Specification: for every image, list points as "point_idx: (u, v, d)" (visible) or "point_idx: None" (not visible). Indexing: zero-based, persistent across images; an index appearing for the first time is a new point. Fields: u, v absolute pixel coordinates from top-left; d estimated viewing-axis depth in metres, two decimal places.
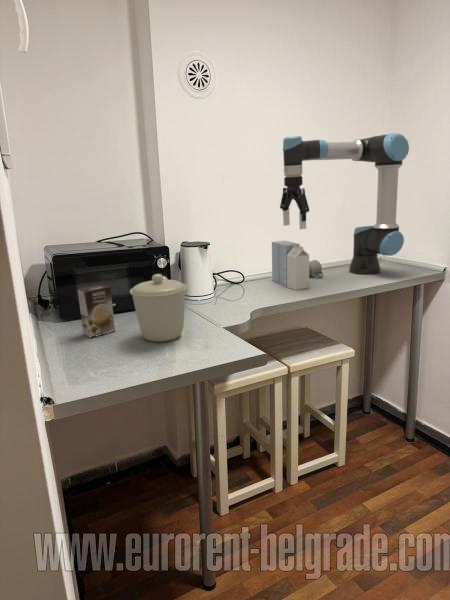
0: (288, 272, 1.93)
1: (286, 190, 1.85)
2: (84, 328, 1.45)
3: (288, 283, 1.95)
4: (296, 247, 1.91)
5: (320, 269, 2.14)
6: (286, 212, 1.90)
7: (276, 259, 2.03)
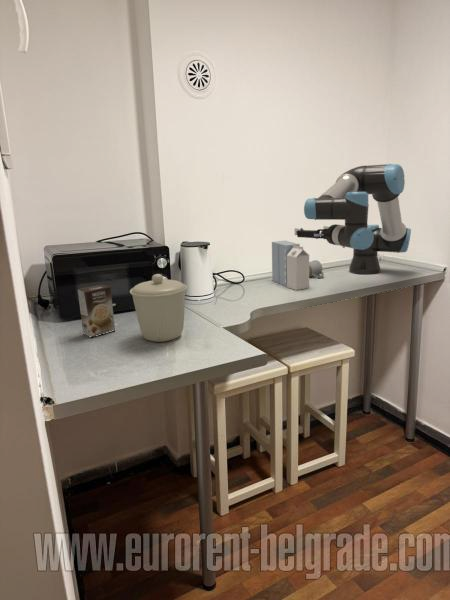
0: (288, 272, 1.93)
1: (318, 236, 1.63)
2: (84, 328, 1.45)
3: (288, 283, 1.95)
4: (296, 247, 1.91)
5: (321, 269, 2.14)
6: None
7: (276, 259, 2.03)
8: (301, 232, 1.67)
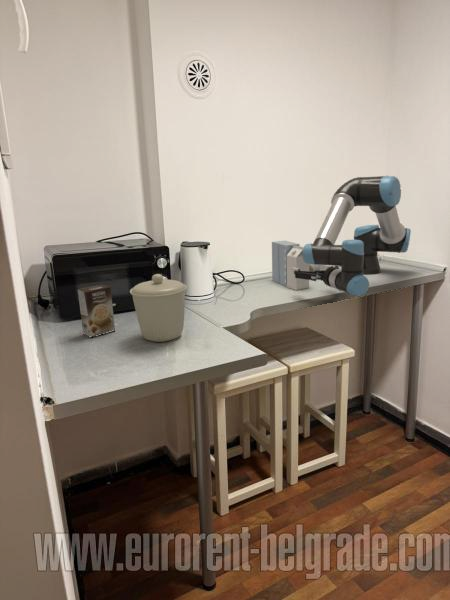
0: (288, 272, 1.93)
1: None
2: (84, 328, 1.45)
3: (288, 283, 1.95)
4: (296, 247, 1.91)
5: None
6: None
7: (276, 259, 2.03)
8: (299, 273, 1.73)
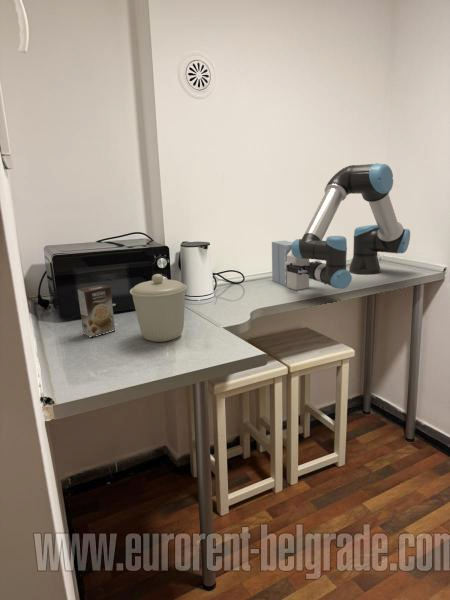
0: (288, 272, 1.93)
1: None
2: (84, 328, 1.45)
3: (288, 283, 1.95)
4: None
5: None
6: None
7: (276, 259, 2.03)
8: (289, 267, 1.84)
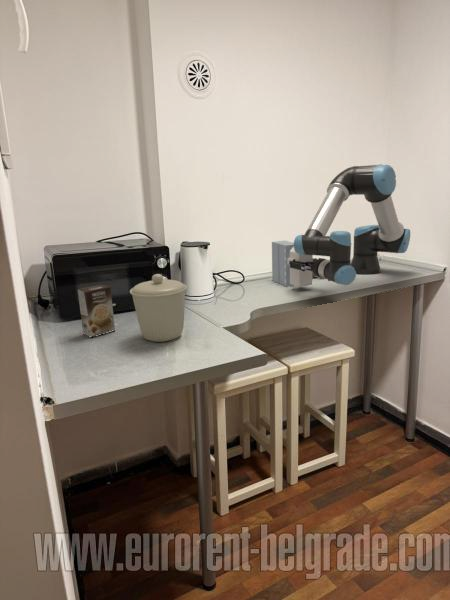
0: (291, 269, 1.90)
1: (305, 268, 1.76)
2: (84, 328, 1.45)
3: (291, 280, 1.91)
4: None
5: None
6: None
7: (276, 259, 2.03)
8: (292, 263, 1.81)
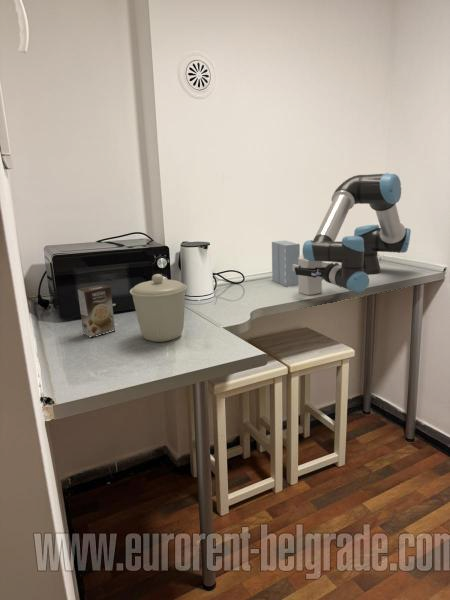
0: (300, 276, 1.84)
1: (316, 274, 1.70)
2: (84, 328, 1.45)
3: (300, 288, 1.86)
4: None
5: None
6: None
7: (276, 259, 2.03)
8: (299, 270, 1.73)
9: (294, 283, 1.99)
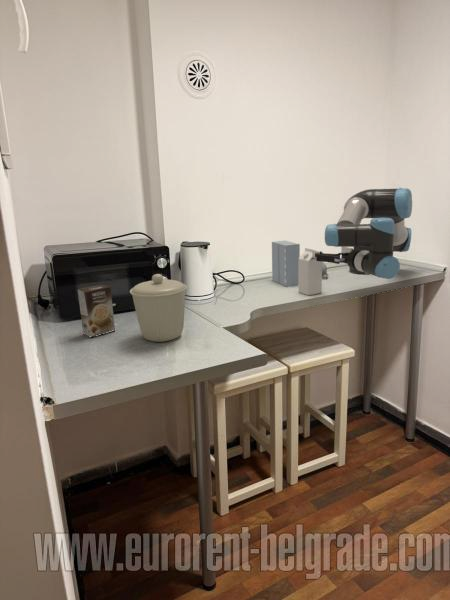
0: (300, 276, 1.84)
1: (339, 260, 1.57)
2: (84, 328, 1.45)
3: (300, 288, 1.86)
4: (308, 250, 1.82)
5: (325, 270, 2.12)
6: None
7: (276, 259, 2.03)
8: (321, 256, 1.60)
9: (294, 283, 1.99)
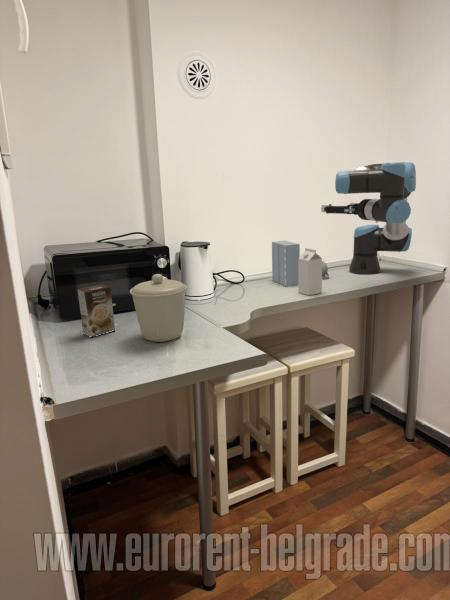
0: (300, 276, 1.84)
1: None
2: (84, 328, 1.45)
3: (300, 288, 1.86)
4: (308, 250, 1.82)
5: (326, 270, 2.11)
6: None
7: (276, 259, 2.03)
8: (330, 208, 1.61)
9: (294, 283, 1.99)
